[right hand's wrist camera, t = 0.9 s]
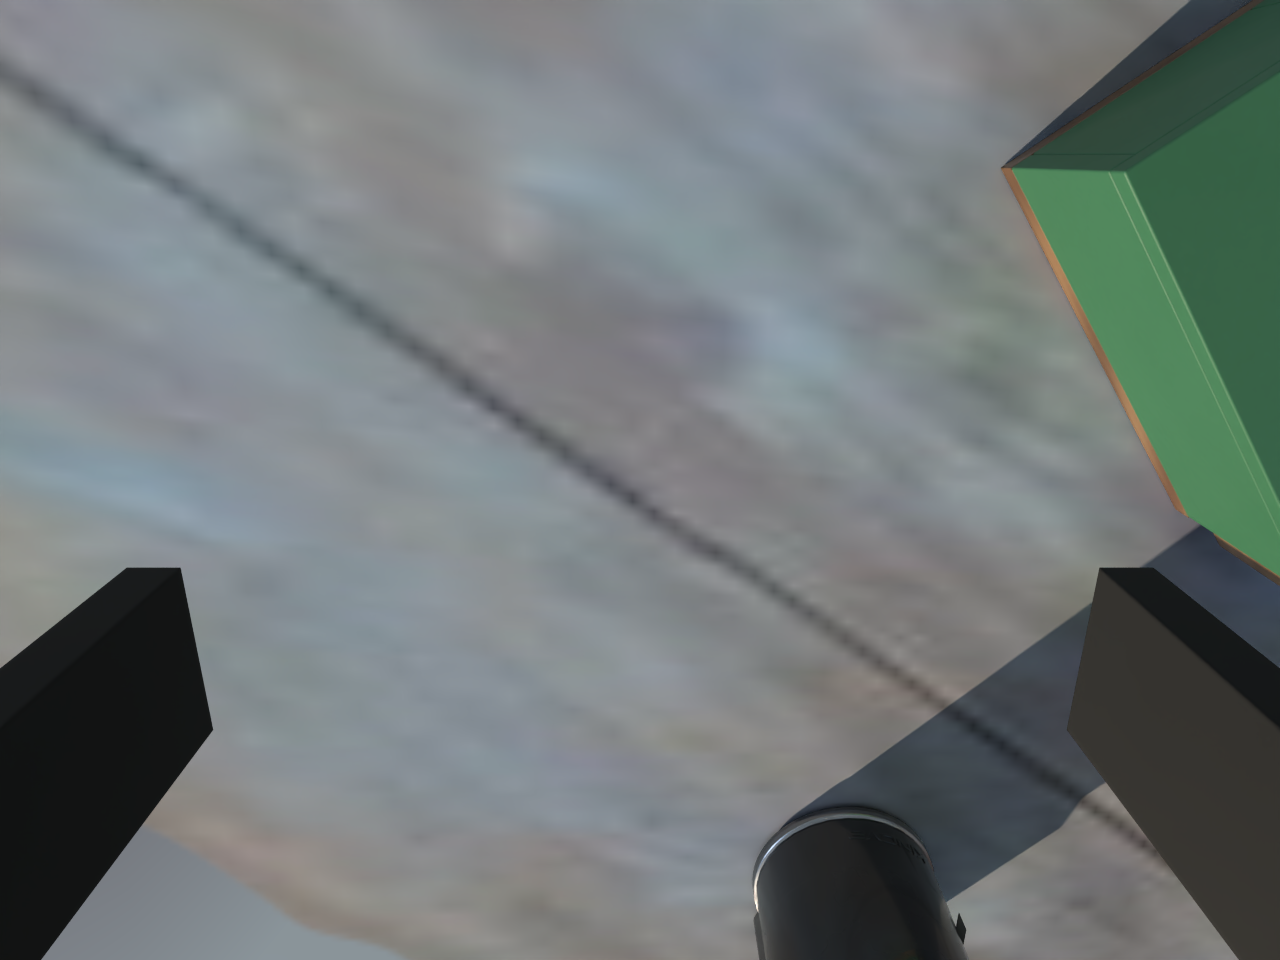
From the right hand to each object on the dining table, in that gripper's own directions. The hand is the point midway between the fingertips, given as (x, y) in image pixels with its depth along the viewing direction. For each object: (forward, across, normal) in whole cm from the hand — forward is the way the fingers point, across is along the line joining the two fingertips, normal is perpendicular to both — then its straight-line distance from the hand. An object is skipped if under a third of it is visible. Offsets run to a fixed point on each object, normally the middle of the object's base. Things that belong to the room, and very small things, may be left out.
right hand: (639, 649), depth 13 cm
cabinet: (+25, +23, +2) cm, 34 cm away
